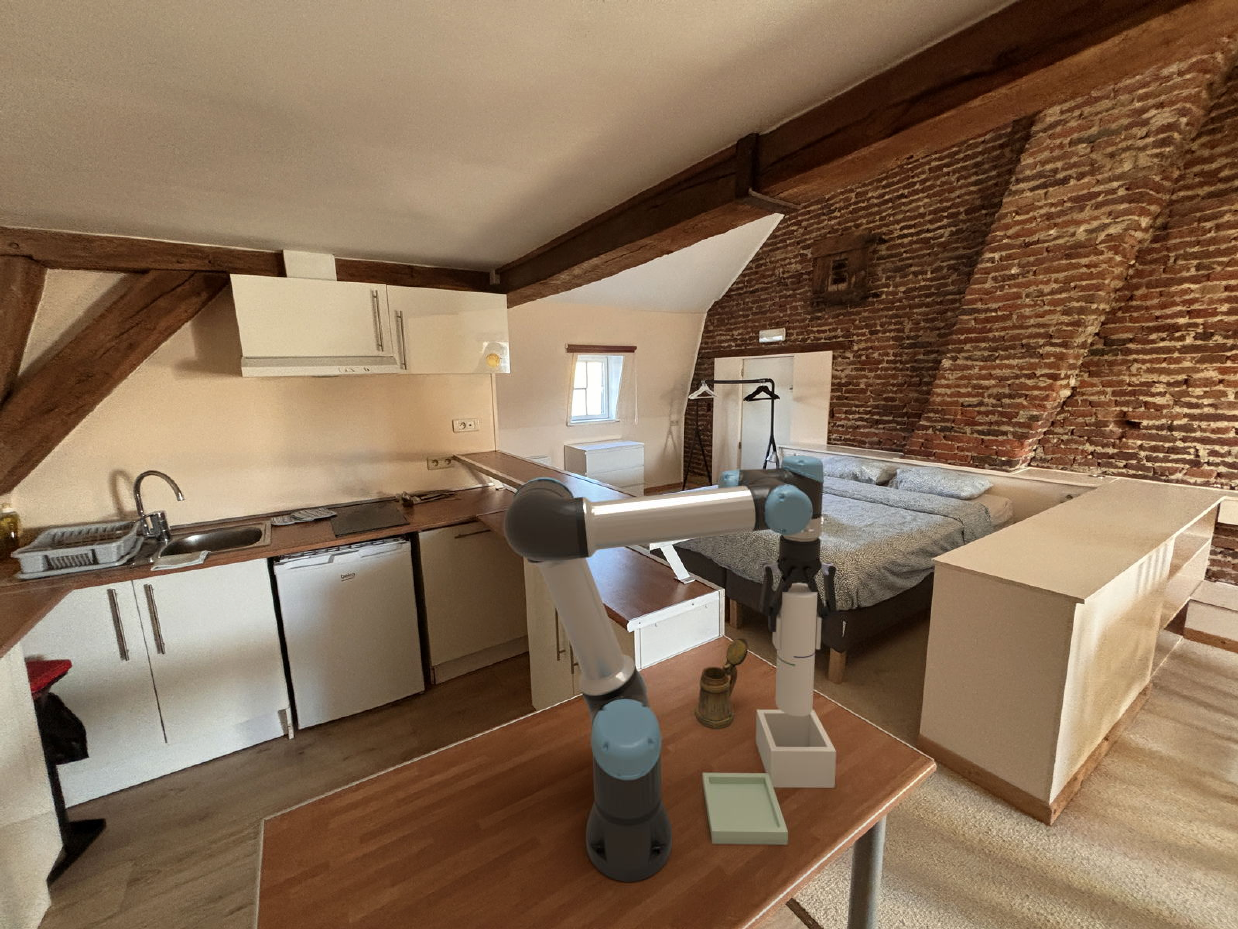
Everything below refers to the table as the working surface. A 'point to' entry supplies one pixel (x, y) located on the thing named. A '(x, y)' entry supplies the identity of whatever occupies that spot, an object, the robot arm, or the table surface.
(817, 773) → the hollow square frame
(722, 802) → the tray
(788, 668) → the cylindrical container
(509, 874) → the table surface
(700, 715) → the wooden mug
